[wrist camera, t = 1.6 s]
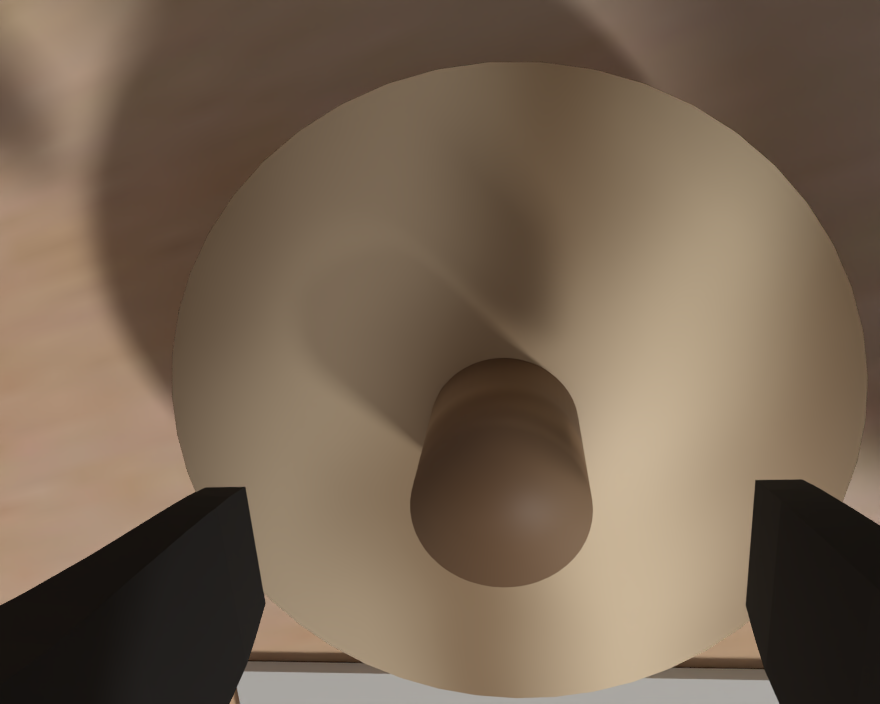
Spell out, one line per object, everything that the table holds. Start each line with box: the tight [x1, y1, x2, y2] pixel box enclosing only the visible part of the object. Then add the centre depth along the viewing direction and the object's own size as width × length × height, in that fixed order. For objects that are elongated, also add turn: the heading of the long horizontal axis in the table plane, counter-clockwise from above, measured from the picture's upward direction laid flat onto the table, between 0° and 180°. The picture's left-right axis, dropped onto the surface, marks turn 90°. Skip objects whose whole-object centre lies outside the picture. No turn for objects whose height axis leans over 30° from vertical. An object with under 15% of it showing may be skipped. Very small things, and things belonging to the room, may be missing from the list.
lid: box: [172, 62, 868, 698], centre depth 14 cm, size 13×13×4 cm
